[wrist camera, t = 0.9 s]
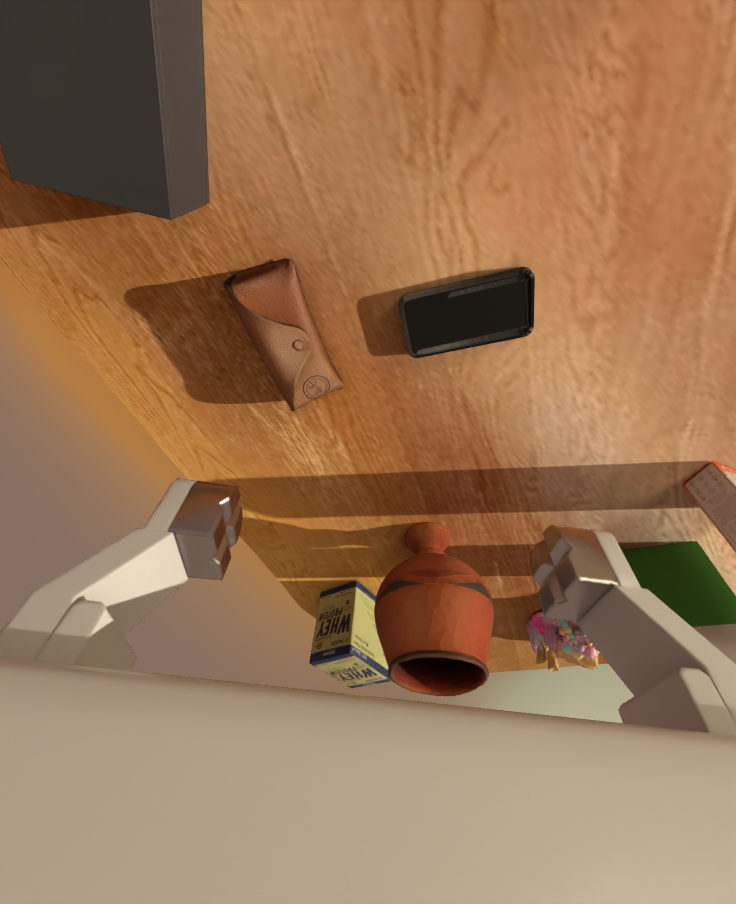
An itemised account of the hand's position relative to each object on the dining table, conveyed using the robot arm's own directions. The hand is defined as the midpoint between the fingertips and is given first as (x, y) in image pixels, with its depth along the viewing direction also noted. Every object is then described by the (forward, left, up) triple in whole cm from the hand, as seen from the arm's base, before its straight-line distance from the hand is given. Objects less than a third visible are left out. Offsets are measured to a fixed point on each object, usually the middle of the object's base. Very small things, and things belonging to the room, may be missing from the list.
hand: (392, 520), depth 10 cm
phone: (+7, +11, -40) cm, 42 cm away
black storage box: (-4, -26, -40) cm, 48 cm away
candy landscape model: (+68, +63, -40) cm, 101 cm away
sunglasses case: (+15, -9, -40) cm, 44 cm away
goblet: (+49, +20, -40) cm, 67 cm away
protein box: (+77, +12, -40) cm, 88 cm away
